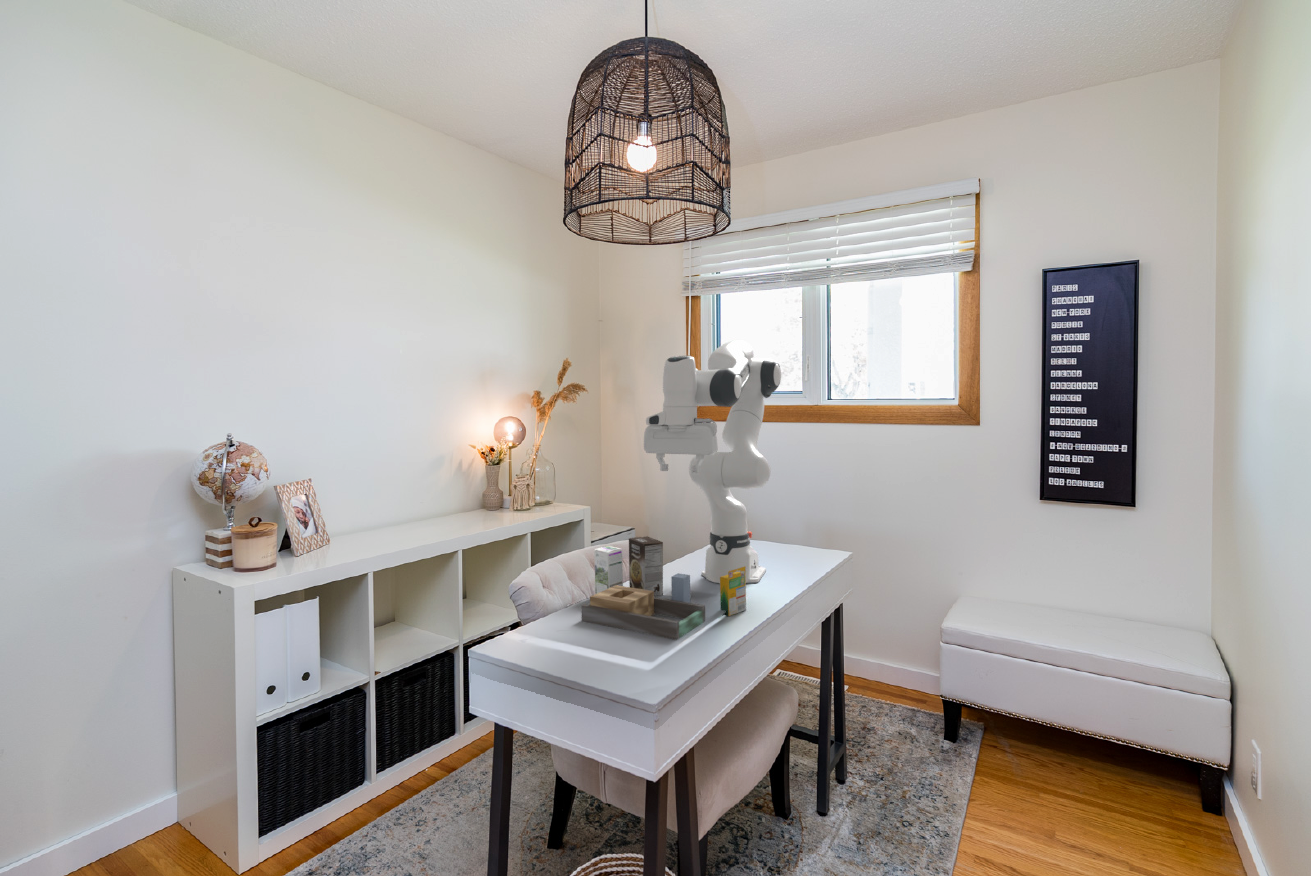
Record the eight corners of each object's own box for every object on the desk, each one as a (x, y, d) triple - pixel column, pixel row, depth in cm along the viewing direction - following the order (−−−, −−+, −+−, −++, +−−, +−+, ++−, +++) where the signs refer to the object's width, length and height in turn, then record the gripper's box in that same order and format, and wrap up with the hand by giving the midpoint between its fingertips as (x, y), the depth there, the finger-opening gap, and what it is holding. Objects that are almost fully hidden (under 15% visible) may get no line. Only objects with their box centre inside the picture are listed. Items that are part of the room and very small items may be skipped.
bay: (614, 609, 169) (614, 590, 168) (705, 625, 155) (704, 605, 155) (581, 625, 156) (581, 605, 156) (676, 645, 143) (676, 623, 143)
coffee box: (628, 594, 182) (627, 538, 182) (648, 590, 186) (647, 535, 185) (643, 602, 174) (643, 543, 174) (664, 598, 178) (663, 541, 177)
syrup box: (624, 599, 177) (623, 547, 176) (608, 604, 173) (607, 551, 172) (610, 595, 181) (609, 545, 180) (594, 600, 176) (593, 548, 176)
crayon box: (737, 607, 169) (737, 564, 168) (746, 610, 167) (746, 566, 166) (719, 614, 164) (719, 569, 163) (728, 616, 162) (728, 571, 161)
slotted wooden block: (616, 607, 167) (616, 585, 166) (654, 613, 161) (653, 591, 161) (590, 620, 157) (589, 596, 157) (629, 627, 151) (629, 603, 151)
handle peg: (678, 611, 167) (678, 573, 166) (690, 613, 165) (690, 575, 164) (671, 615, 164) (671, 576, 163) (683, 617, 162) (683, 578, 161)
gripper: (721, 418, 163) (721, 472, 164) (652, 418, 174) (653, 469, 174) (711, 418, 158) (711, 474, 158) (640, 418, 168) (640, 471, 169)
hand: (680, 471), depth 166 cm, fingers open, 8 cm apart
